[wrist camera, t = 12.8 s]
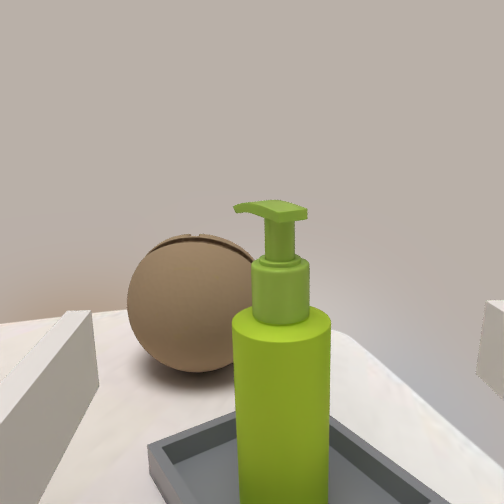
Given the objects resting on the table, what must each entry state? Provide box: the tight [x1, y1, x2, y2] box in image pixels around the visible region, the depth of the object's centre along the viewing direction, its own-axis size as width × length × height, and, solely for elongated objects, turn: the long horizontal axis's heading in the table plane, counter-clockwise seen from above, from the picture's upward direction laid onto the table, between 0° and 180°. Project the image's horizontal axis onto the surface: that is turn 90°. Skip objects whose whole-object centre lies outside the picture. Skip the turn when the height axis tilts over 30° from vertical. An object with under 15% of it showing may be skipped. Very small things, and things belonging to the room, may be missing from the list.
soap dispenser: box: [232, 200, 331, 504], centre depth 27 cm, size 6×7×20 cm
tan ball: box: [127, 234, 255, 372], centre depth 48 cm, size 15×15×15 cm
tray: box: [147, 411, 451, 504], centre depth 30 cm, size 16×14×2 cm
